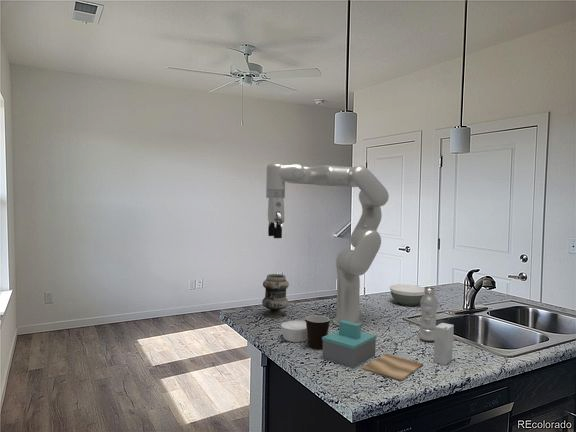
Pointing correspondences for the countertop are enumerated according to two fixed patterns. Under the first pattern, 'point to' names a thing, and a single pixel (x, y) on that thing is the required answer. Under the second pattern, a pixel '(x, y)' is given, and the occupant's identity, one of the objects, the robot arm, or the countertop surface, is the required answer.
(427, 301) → the plastic bottle
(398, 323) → the countertop surface
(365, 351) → the tub
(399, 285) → the bowl
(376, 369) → the wooden board
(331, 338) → the lid
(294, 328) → the ramekin
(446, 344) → the skincare box
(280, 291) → the apothecary jar
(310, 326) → the coffee mug
